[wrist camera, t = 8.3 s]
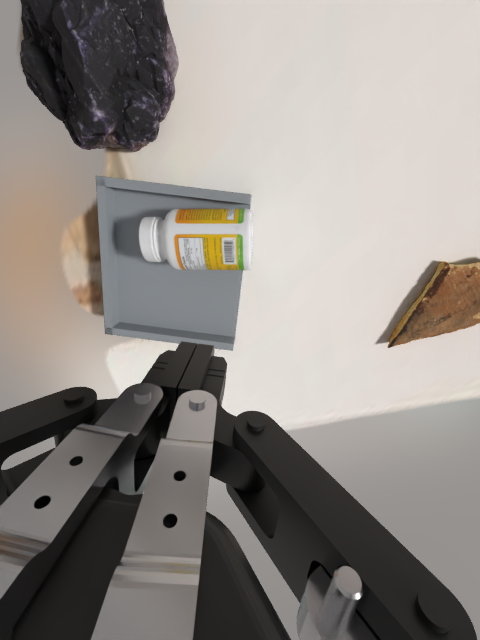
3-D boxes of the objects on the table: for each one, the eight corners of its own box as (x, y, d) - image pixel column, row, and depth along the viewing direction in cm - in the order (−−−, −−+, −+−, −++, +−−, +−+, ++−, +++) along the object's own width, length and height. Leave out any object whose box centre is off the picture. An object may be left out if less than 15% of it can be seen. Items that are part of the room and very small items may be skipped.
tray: (108, 178, 28) (95, 175, 26) (251, 195, 28) (250, 194, 26) (115, 325, 34) (105, 333, 32) (234, 341, 34) (232, 350, 32)
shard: (382, 342, 33) (389, 349, 32) (371, 279, 31) (377, 283, 29) (487, 315, 31) (499, 322, 30) (483, 246, 29) (496, 249, 27)
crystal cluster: (74, 170, 29) (3, 163, 20) (-2, -16, 24) (-146, -139, 15) (204, 137, 28) (191, 116, 19) (158, -63, 23) (110, -225, 14)
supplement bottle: (253, 223, 29) (158, 222, 30) (252, 197, 24) (136, 197, 25) (252, 276, 29) (155, 274, 30) (250, 261, 24) (133, 260, 24)
